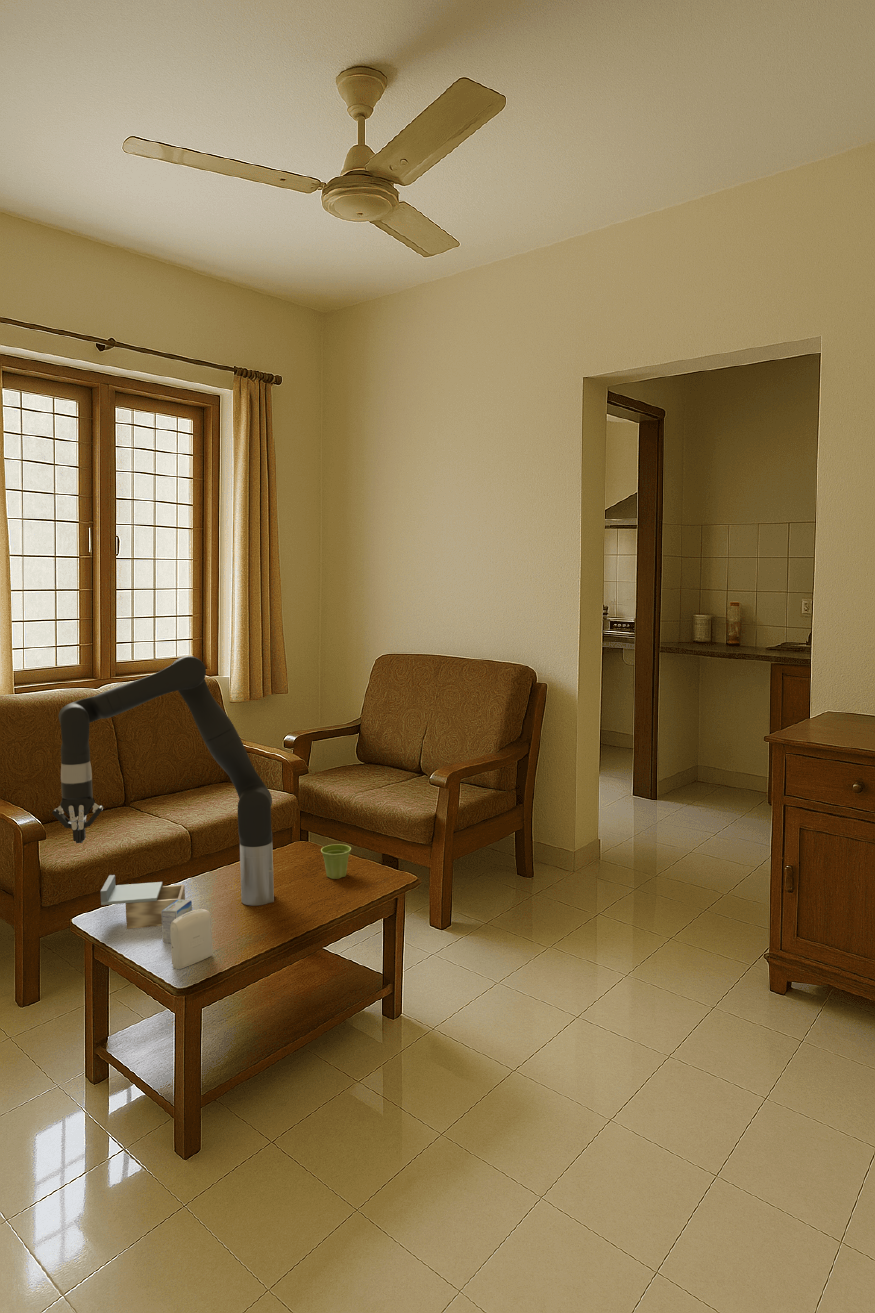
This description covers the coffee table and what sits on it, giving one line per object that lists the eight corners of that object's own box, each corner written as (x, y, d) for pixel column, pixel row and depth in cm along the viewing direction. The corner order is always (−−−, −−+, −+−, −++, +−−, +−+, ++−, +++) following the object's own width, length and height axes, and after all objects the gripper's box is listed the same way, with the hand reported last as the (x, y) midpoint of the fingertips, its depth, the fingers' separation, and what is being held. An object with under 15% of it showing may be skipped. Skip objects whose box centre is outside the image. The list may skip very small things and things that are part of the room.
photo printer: (178, 971, 194) (177, 921, 193) (168, 966, 197) (167, 916, 195) (215, 956, 202) (214, 908, 201) (205, 951, 204) (204, 903, 203)
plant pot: (349, 881, 252) (349, 854, 251) (319, 881, 252) (318, 854, 251) (353, 870, 261) (352, 844, 260) (323, 870, 261) (323, 844, 261)
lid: (162, 884, 230) (162, 871, 230) (156, 900, 218) (156, 887, 218) (109, 888, 227) (109, 875, 227) (101, 905, 215) (100, 891, 215)
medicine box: (178, 944, 208) (176, 911, 208) (162, 943, 209) (160, 910, 209) (193, 931, 216) (192, 899, 215) (177, 930, 217) (176, 898, 216)
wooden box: (185, 908, 231) (184, 884, 231) (181, 924, 221) (180, 899, 220) (133, 912, 229) (132, 888, 228) (126, 929, 218) (125, 903, 217)
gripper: (105, 774, 222) (108, 836, 224) (53, 777, 219) (56, 839, 221) (100, 781, 215) (102, 845, 216) (46, 783, 212) (49, 848, 214)
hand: (79, 842), depth 219 cm, fingers closed
